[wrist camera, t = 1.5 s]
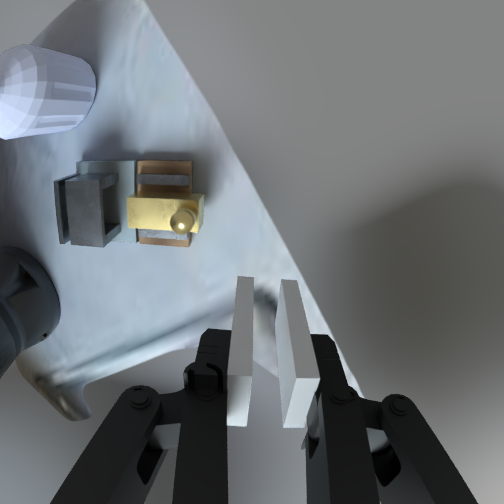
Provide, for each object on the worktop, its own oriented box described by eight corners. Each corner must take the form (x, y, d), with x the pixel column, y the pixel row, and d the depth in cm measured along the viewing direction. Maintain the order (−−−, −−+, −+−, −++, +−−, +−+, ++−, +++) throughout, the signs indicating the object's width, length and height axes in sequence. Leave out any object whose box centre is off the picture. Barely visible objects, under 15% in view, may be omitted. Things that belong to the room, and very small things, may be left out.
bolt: (138, 218, 31) (119, 235, 26) (137, 190, 30) (117, 203, 25) (203, 222, 31) (193, 240, 26) (204, 193, 30) (194, 206, 25)
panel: (86, 235, 34) (81, 239, 32) (81, 161, 30) (76, 162, 29) (190, 243, 34) (188, 247, 33) (192, 161, 30) (190, 162, 29)
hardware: (80, 229, 32) (59, 243, 28) (76, 173, 29) (53, 181, 25) (188, 236, 32) (178, 253, 28) (190, 174, 30) (179, 182, 25)
